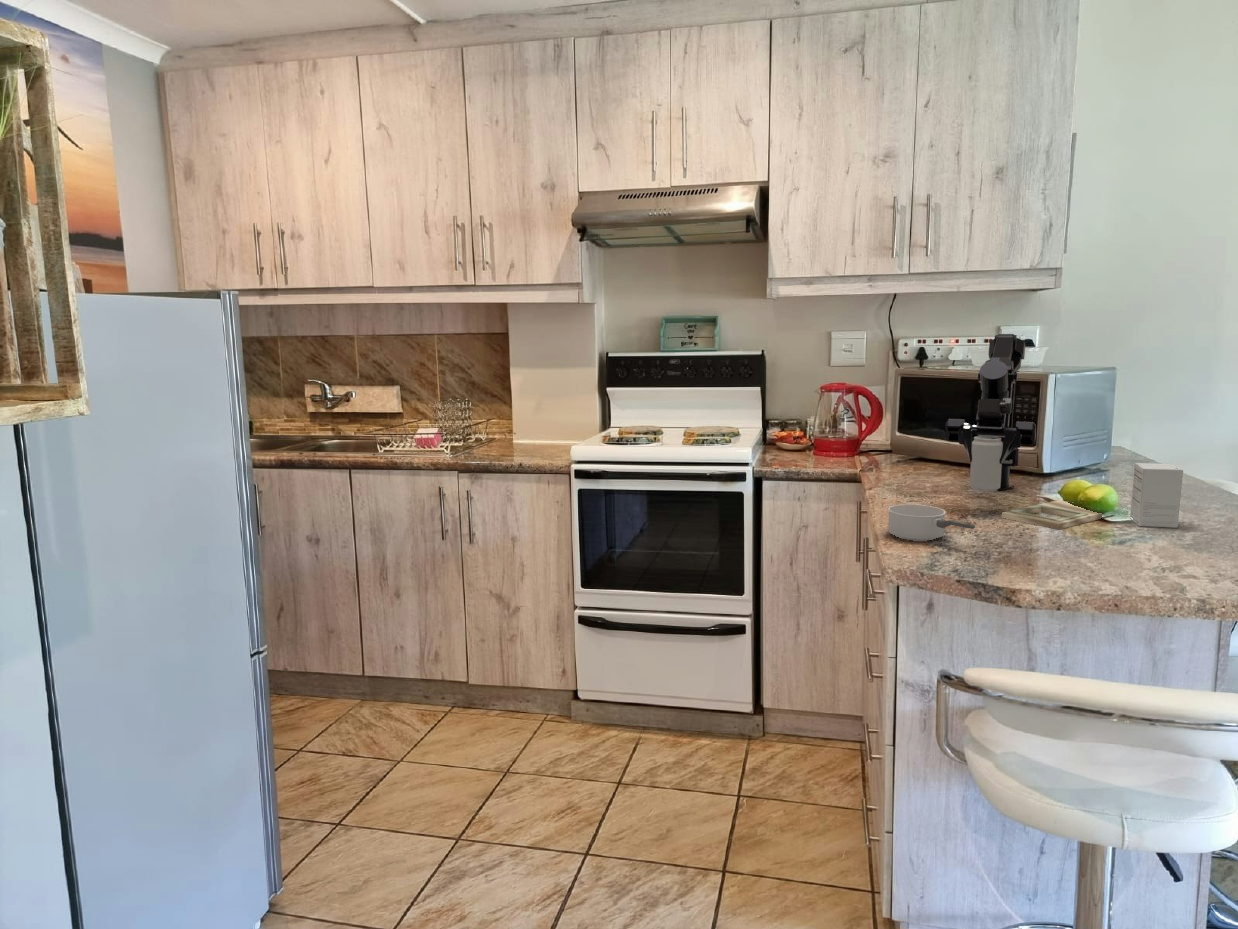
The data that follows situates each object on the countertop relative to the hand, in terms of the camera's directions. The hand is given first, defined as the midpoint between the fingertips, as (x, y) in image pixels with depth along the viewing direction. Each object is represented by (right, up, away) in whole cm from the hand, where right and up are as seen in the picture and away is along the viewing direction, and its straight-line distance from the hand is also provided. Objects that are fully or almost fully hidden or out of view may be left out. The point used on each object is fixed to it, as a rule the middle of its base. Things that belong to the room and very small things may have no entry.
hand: (985, 461), depth 184 cm
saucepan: (-19, -16, -19) cm, 31 cm away
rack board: (+17, -12, 0) cm, 21 cm away
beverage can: (+1, -6, +2) cm, 7 cm away
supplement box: (+32, -13, -8) cm, 36 cm away
